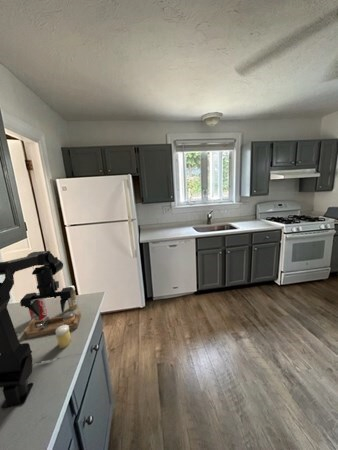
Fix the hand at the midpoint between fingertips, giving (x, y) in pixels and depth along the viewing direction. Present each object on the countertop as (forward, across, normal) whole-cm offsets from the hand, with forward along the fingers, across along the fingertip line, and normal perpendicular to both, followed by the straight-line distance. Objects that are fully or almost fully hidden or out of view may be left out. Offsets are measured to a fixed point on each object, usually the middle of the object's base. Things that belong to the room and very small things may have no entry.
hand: (51, 314), depth 85 cm
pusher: (+11, +8, -9) cm, 17 cm away
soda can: (+13, +14, -20) cm, 27 cm away
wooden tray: (+13, +3, -9) cm, 16 cm away
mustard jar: (+13, -5, +4) cm, 14 cm away
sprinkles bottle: (+12, -2, -23) cm, 26 cm away
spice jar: (+12, -4, -9) cm, 15 cm away
